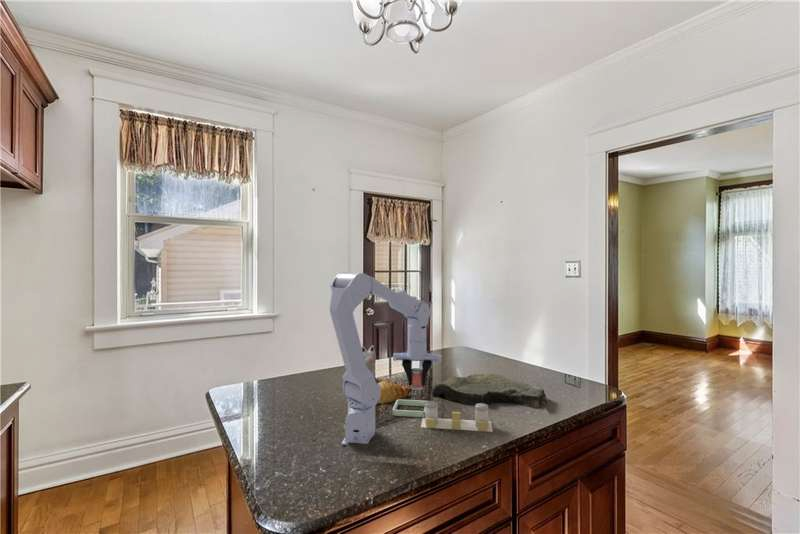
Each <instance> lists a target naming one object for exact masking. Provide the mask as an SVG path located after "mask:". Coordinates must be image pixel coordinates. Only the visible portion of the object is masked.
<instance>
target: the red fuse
mask: <svg viewBox="0 0 800 534" xmlns="http://www.w3.org/2000/svg"><path fill="white" fill-rule="evenodd" d="M422 381H423V368H422V367H414V368H413V367H412V369H411V385H410V388H411V389H412V390H413V391H414V390H415V391H421V390H423V389H424V386H422Z"/></svg>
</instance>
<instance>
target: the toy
mask: <svg viewBox="0 0 800 534" xmlns="http://www.w3.org/2000/svg"><path fill="white" fill-rule="evenodd" d="M361 347H362V351H363V355H364V359H365V363H366V366H367V368H368V370H369V371H370V372H371V373H372V374H373V376H374V377H375V364H376V362H377V361H376V353H375V346H374V345H371V346H370V347H369V348H368V350H367V349H366V347H365V346H364V345H361Z"/></svg>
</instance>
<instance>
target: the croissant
mask: <svg viewBox="0 0 800 534" xmlns="http://www.w3.org/2000/svg"><path fill="white" fill-rule="evenodd" d="M376 383H377V382H376ZM377 384H378V385H379V386H380V389H381V395H380V398H379V400H378V402H377V403H376V405H377V404H382V405H383V404H387V403H389V402H391V403H392V402H394V401H395V402H396V400H397V399H401V400H402V399H403V398H406V397H408V396H409V395H410V394H411V393H412V390H413V389H412V388H411V386H410V387H409V386H405V385H398V384H396V383H393V382H391V381H388V380H382V381H379V382H378V383H377Z"/></svg>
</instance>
